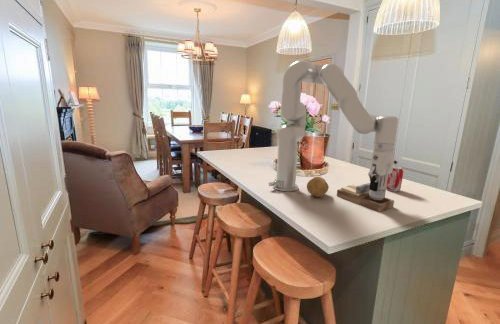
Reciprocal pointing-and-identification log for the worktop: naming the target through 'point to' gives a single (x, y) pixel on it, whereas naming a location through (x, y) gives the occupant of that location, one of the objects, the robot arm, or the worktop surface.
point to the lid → (357, 189)
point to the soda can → (395, 179)
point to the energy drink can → (380, 187)
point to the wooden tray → (367, 201)
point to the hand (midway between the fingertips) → (377, 188)
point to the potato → (317, 186)
